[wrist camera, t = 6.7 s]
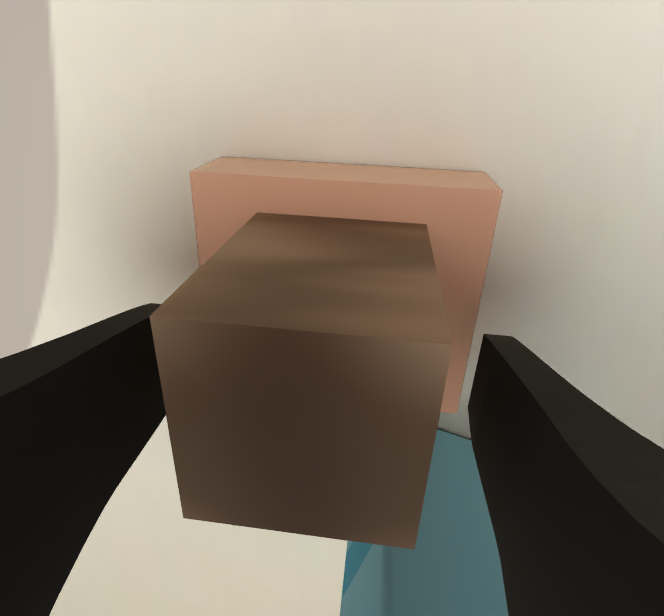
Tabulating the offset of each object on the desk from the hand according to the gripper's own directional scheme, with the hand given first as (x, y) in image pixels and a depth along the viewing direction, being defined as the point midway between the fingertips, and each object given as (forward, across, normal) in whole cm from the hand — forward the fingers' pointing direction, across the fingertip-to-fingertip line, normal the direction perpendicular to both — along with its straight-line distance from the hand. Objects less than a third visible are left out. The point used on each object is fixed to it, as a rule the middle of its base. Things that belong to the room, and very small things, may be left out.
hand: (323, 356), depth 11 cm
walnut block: (+3, 0, 0) cm, 3 cm away
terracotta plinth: (+5, 0, 0) cm, 5 cm away
